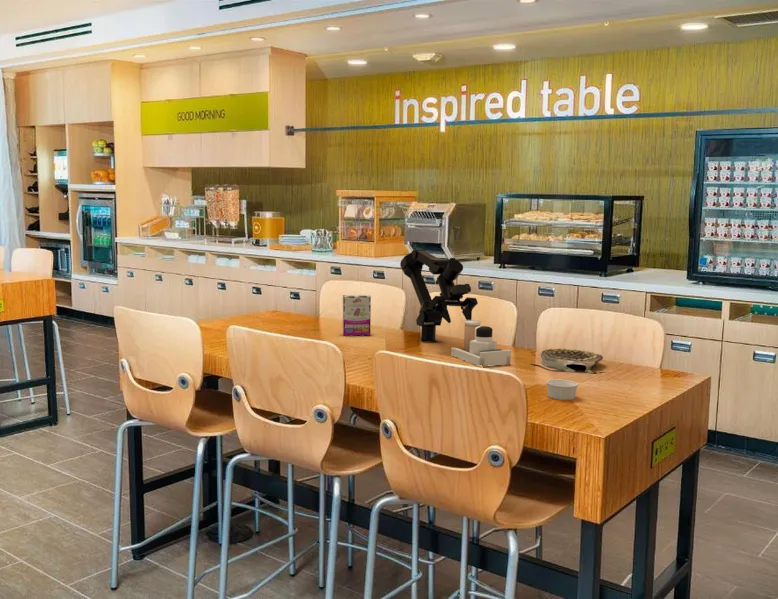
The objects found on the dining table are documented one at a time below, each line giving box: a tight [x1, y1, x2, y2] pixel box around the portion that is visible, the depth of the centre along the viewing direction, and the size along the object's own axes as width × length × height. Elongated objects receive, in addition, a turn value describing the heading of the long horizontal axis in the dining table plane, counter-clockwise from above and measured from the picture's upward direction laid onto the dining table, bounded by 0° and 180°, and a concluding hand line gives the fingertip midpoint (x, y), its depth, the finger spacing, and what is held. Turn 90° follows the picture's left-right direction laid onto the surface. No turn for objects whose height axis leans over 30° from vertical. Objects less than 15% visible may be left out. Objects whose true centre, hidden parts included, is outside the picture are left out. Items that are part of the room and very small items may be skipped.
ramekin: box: [546, 378, 579, 401], centre depth 229 cm, size 9×9×4 cm
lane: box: [450, 347, 512, 368], centre depth 277 cm, size 20×12×5 cm, turn 25°
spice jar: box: [463, 319, 481, 352], centre depth 282 cm, size 6×6×13 cm
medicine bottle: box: [469, 325, 497, 356], centre depth 275 cm, size 7×7×12 cm
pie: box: [533, 348, 604, 374], centre depth 274 cm, size 28×27×5 cm
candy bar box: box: [342, 294, 372, 337], centre depth 321 cm, size 11×5×16 cm, turn 99°
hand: (460, 322), depth 289 cm, fingers open, 9 cm apart
